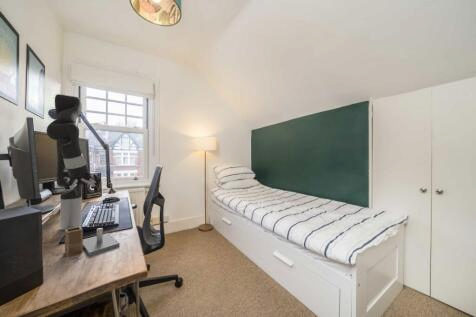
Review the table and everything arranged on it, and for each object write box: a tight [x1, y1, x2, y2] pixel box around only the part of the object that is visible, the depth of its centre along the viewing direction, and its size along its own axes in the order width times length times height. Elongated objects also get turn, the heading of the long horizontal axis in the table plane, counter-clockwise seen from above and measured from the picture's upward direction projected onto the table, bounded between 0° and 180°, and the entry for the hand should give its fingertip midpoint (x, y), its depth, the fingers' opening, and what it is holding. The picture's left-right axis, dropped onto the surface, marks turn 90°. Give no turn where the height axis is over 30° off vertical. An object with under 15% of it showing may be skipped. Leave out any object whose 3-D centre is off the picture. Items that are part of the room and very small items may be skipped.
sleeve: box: [64, 226, 84, 258], centre depth 78 cm, size 5×5×10 cm
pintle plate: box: [83, 227, 121, 257], centre depth 85 cm, size 17×11×8 cm, turn 50°
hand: (86, 193), depth 94 cm, fingers open, 8 cm apart
